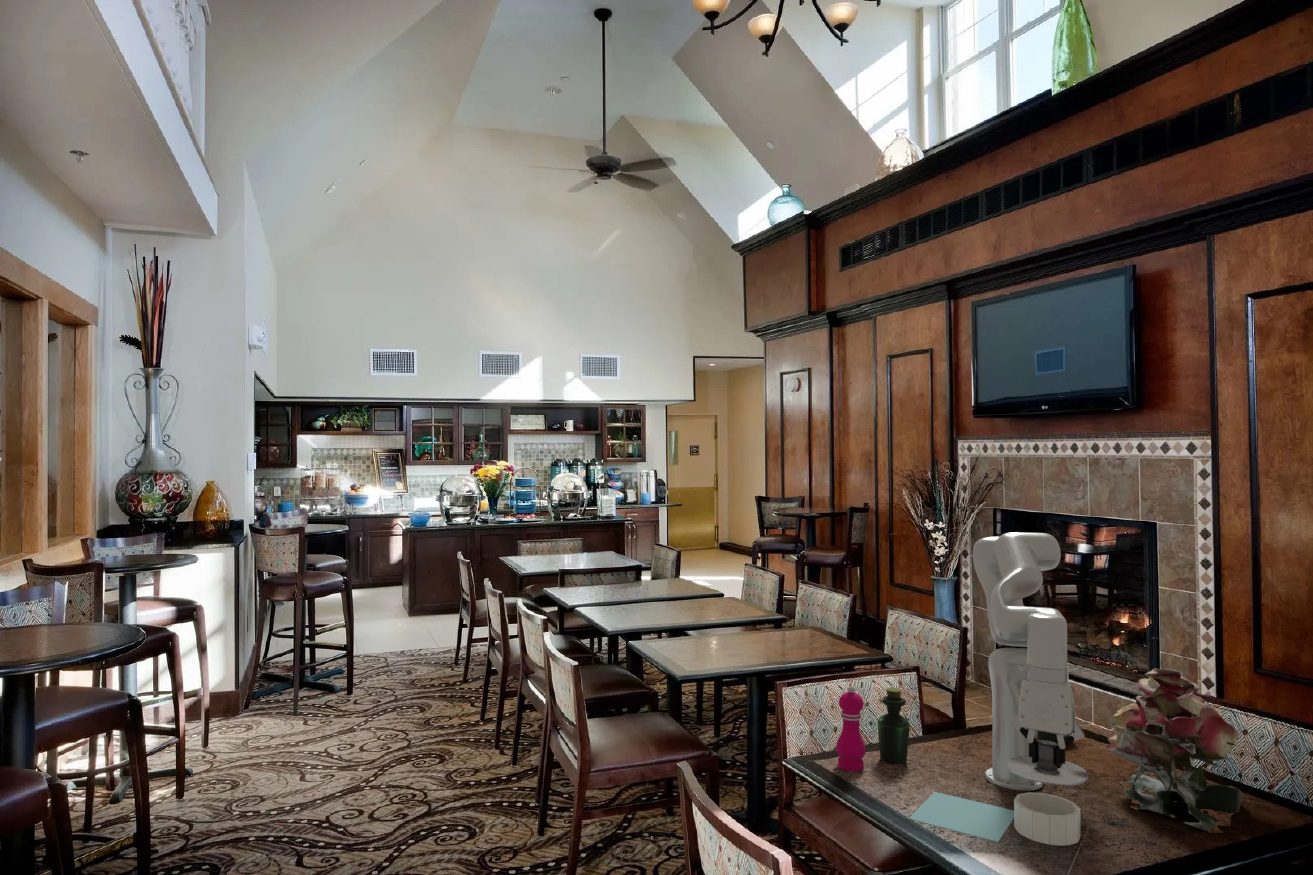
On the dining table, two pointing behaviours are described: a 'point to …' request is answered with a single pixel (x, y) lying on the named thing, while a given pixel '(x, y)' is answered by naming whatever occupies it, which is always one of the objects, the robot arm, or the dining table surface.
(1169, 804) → the rose bouquet
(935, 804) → the teal mat
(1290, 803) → the dining table surface
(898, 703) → the potion bottle
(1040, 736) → the sushi
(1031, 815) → the white faceted bowl
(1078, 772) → the metal lid
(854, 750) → the pepper mill
